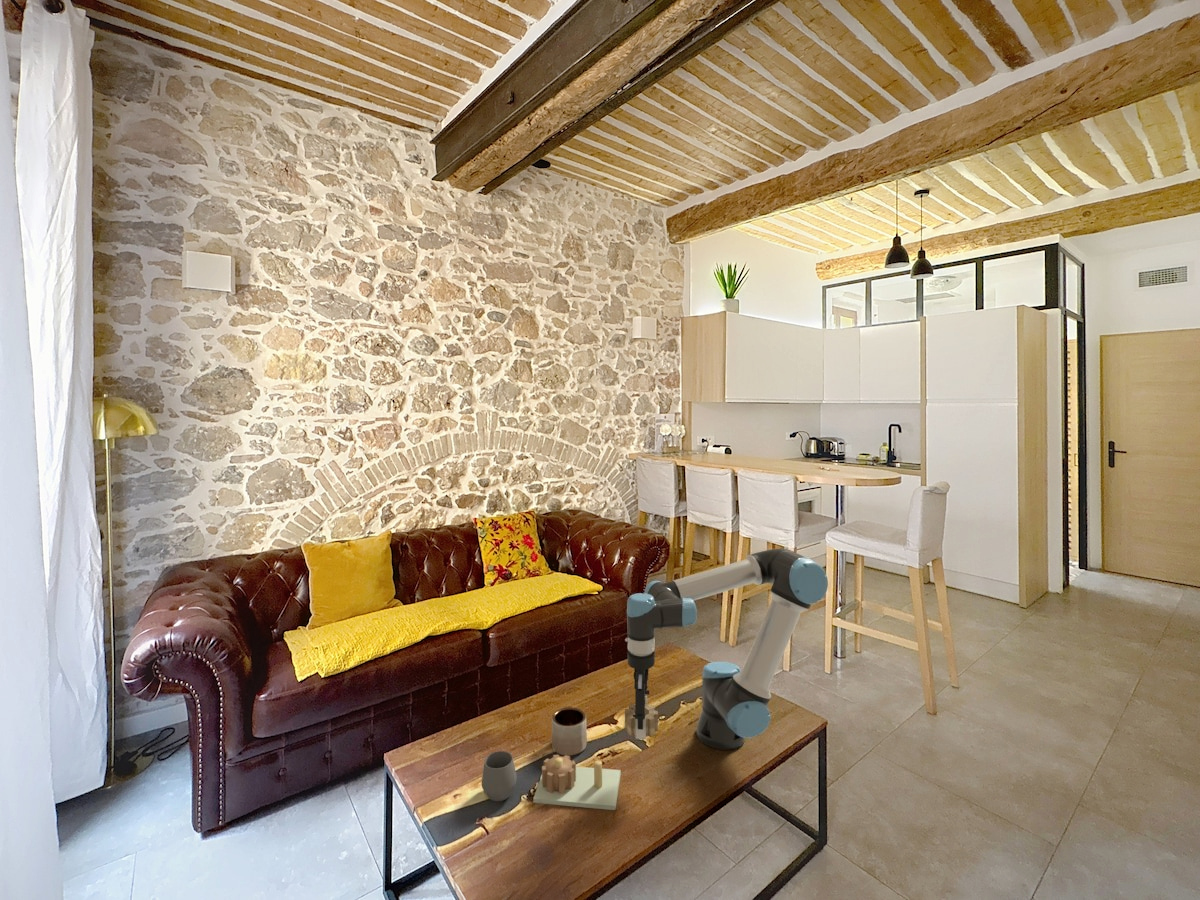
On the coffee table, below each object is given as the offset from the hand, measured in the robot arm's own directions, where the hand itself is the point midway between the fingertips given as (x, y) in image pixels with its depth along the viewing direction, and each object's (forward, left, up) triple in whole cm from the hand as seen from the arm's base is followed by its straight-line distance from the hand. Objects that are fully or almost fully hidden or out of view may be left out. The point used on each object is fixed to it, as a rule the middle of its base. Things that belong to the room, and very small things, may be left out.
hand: (641, 727), depth 153 cm
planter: (+23, -12, -15) cm, 30 cm away
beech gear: (0, 0, 0) cm, 0 cm away
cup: (+38, +11, -15) cm, 43 cm away
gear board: (+17, +6, -15) cm, 24 cm away
